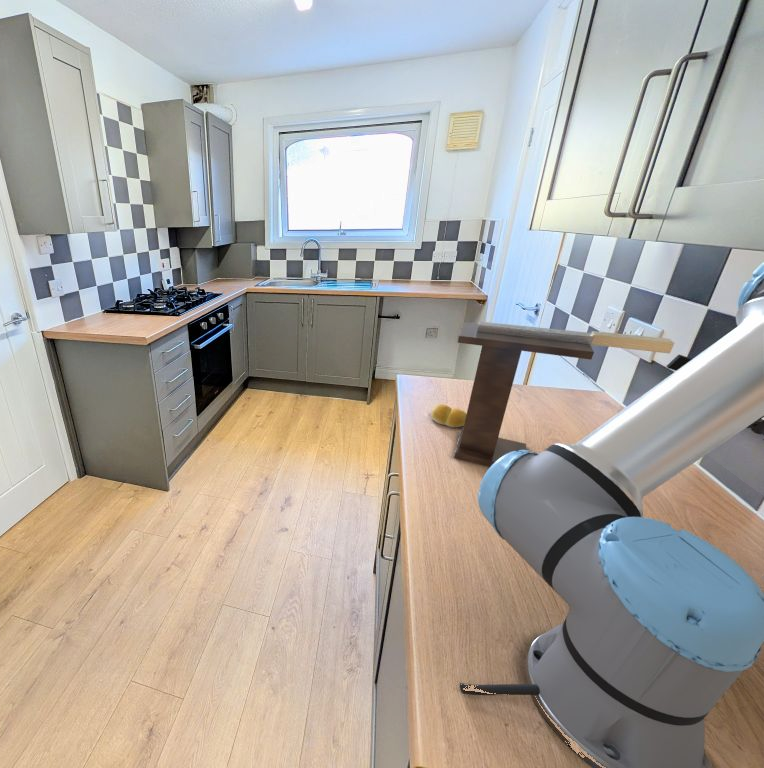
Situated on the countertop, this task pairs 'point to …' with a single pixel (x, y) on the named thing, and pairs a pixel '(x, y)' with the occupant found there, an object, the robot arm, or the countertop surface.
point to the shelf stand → (499, 389)
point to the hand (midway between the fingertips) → (687, 380)
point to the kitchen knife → (581, 337)
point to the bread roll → (448, 416)
